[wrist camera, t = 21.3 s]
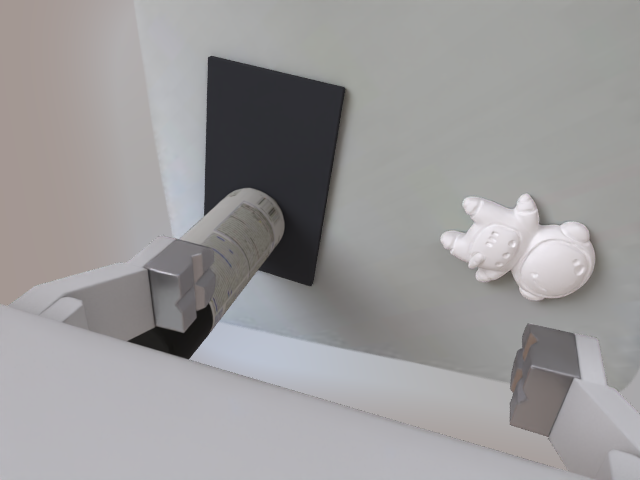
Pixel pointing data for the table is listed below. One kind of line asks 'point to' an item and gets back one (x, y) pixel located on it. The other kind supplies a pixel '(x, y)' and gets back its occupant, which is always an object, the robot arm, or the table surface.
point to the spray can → (224, 262)
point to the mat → (274, 152)
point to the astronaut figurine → (523, 248)
